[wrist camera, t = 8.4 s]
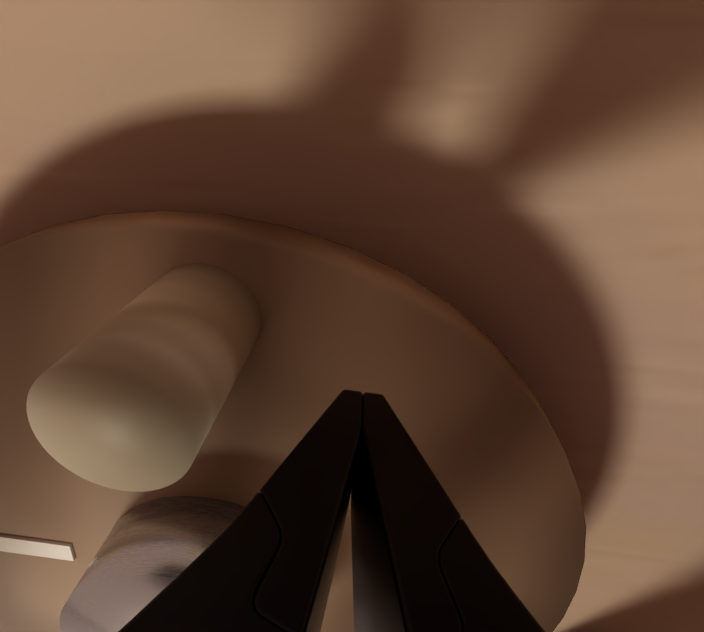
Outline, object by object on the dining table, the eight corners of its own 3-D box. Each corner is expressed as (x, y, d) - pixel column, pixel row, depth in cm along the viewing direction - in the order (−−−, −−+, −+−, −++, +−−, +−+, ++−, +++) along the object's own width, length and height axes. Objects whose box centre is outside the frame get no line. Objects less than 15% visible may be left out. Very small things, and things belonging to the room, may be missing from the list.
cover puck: (320, 510, 13) (307, 595, 11) (306, 635, 16) (294, 720, 14) (93, 481, 13) (33, 560, 11) (124, 611, 16) (83, 692, 14)
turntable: (705, 280, 11) (990, 440, 6) (468, 715, 22) (494, 901, 17) (-250, 150, 11) (-805, 196, 6) (-1, 651, 22) (-115, 816, 17)
